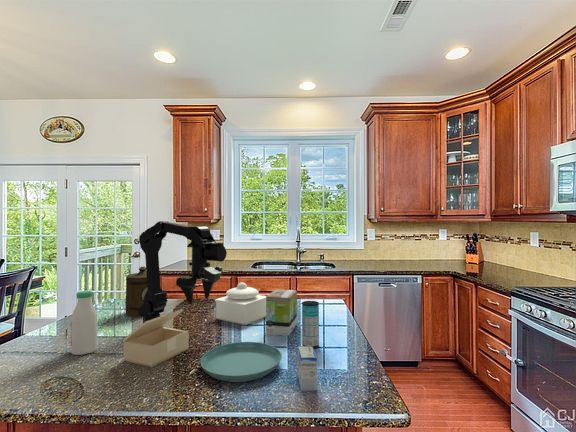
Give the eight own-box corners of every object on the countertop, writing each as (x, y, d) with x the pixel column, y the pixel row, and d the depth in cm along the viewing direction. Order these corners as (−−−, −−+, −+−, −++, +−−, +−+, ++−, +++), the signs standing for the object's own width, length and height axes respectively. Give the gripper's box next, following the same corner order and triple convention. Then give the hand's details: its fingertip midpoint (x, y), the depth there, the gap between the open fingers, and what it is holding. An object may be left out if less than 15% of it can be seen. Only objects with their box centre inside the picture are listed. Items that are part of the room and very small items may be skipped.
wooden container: (151, 316, 154) (151, 268, 154) (119, 316, 154) (119, 268, 154) (163, 308, 169) (163, 264, 169) (134, 308, 169) (134, 264, 169)
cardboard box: (123, 360, 106) (123, 341, 106) (162, 343, 120) (162, 326, 120) (152, 367, 100) (152, 347, 101) (188, 349, 115) (188, 331, 115)
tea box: (290, 336, 127) (290, 297, 127) (264, 334, 129) (264, 296, 129) (297, 324, 142) (297, 289, 142) (274, 322, 144) (274, 288, 144)
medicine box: (297, 377, 94) (297, 346, 94) (313, 376, 94) (312, 345, 94) (300, 391, 86) (300, 357, 86) (317, 390, 87) (317, 357, 87)
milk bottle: (102, 348, 116) (102, 290, 116) (82, 357, 109) (82, 295, 109) (86, 345, 118) (86, 288, 119) (65, 354, 111) (65, 293, 111)
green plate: (207, 352, 112) (207, 342, 113) (279, 350, 114) (279, 340, 114) (192, 389, 88) (192, 376, 88) (284, 385, 90) (284, 372, 90)
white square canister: (269, 315, 156) (269, 281, 156) (245, 325, 141) (244, 287, 141) (240, 310, 165) (240, 277, 166) (214, 319, 150) (214, 283, 150)
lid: (123, 341, 106) (122, 339, 106) (162, 326, 120) (161, 324, 120) (146, 323, 102) (145, 321, 102) (183, 310, 116) (182, 308, 116)
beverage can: (320, 343, 120) (320, 301, 120) (317, 349, 114) (317, 305, 114) (304, 341, 121) (303, 300, 121) (300, 347, 116) (300, 304, 116)
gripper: (200, 264, 114) (199, 310, 114) (231, 258, 131) (231, 298, 131) (175, 262, 119) (174, 306, 119) (208, 256, 136) (208, 295, 136)
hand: (198, 301), depth 126 cm, fingers open, 9 cm apart
